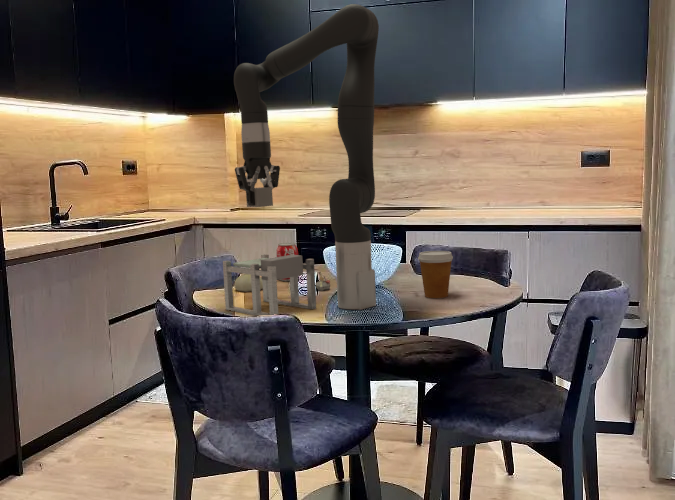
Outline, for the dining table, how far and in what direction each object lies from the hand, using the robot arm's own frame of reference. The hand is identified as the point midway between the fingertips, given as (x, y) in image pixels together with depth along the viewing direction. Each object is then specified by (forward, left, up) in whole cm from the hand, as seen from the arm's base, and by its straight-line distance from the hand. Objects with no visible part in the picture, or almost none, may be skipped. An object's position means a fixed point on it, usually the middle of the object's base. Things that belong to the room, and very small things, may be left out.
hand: (260, 204), depth 182 cm
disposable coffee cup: (-34, -33, -27) cm, 54 cm away
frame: (-7, +4, -27) cm, 28 cm away
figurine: (0, -23, -27) cm, 36 cm away
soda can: (+22, -29, -27) cm, 45 cm away
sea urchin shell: (+20, -11, -27) cm, 36 cm away
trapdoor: (-7, +4, -18) cm, 20 cm away
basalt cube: (0, 0, 0) cm, 1 cm away
